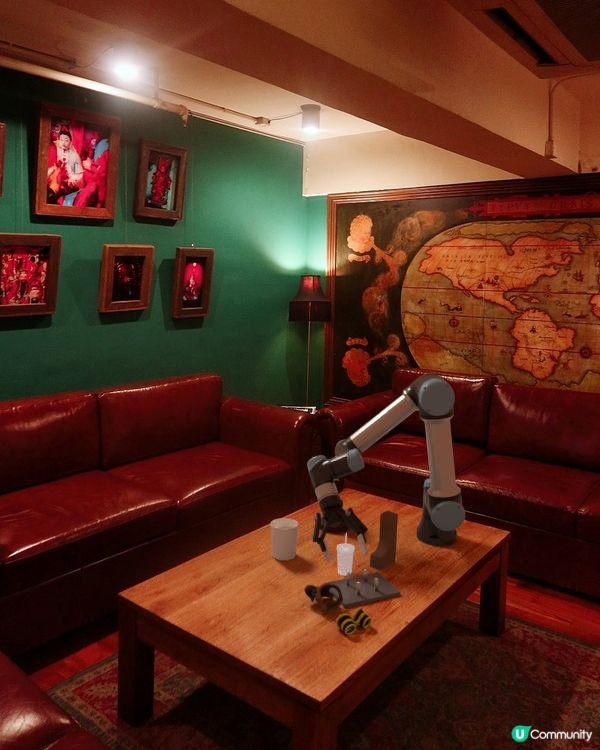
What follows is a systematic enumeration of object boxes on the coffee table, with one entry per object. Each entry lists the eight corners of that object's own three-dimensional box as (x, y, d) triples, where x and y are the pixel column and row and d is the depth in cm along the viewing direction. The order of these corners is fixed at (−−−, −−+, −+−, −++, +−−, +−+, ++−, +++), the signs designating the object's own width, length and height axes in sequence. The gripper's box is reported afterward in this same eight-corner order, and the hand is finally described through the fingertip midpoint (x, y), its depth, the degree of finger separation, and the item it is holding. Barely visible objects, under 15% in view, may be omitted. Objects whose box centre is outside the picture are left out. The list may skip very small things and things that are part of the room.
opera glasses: (345, 640, 183) (348, 625, 181) (334, 628, 187) (336, 613, 185) (371, 629, 189) (374, 615, 187) (359, 617, 193) (362, 603, 191)
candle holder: (265, 558, 228) (265, 526, 226) (276, 547, 237) (277, 516, 235) (291, 564, 225) (291, 531, 222) (301, 552, 234) (302, 520, 231)
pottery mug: (342, 599, 204) (347, 585, 198) (334, 626, 196) (340, 612, 191) (305, 586, 205) (310, 571, 200) (296, 612, 198) (301, 597, 192)
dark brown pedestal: (317, 517, 265) (319, 470, 262) (353, 519, 264) (356, 472, 260) (314, 532, 251) (316, 482, 247) (353, 535, 249) (355, 485, 246)
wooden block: (379, 570, 222) (382, 520, 218) (369, 566, 225) (371, 516, 221) (395, 562, 228) (398, 513, 225) (385, 558, 231) (388, 509, 228)
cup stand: (376, 575, 218) (377, 560, 218) (400, 595, 206) (401, 579, 205) (323, 586, 210) (324, 571, 209) (344, 608, 198) (345, 592, 197)
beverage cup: (334, 567, 223) (336, 529, 220) (352, 567, 223) (354, 529, 221) (336, 576, 217) (338, 537, 214) (354, 576, 217) (356, 537, 215)
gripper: (355, 498, 236) (375, 554, 225) (292, 508, 225) (310, 567, 215) (363, 489, 230) (384, 546, 219) (299, 498, 220) (318, 559, 209)
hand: (348, 557), depth 217 cm, fingers open, 13 cm apart
